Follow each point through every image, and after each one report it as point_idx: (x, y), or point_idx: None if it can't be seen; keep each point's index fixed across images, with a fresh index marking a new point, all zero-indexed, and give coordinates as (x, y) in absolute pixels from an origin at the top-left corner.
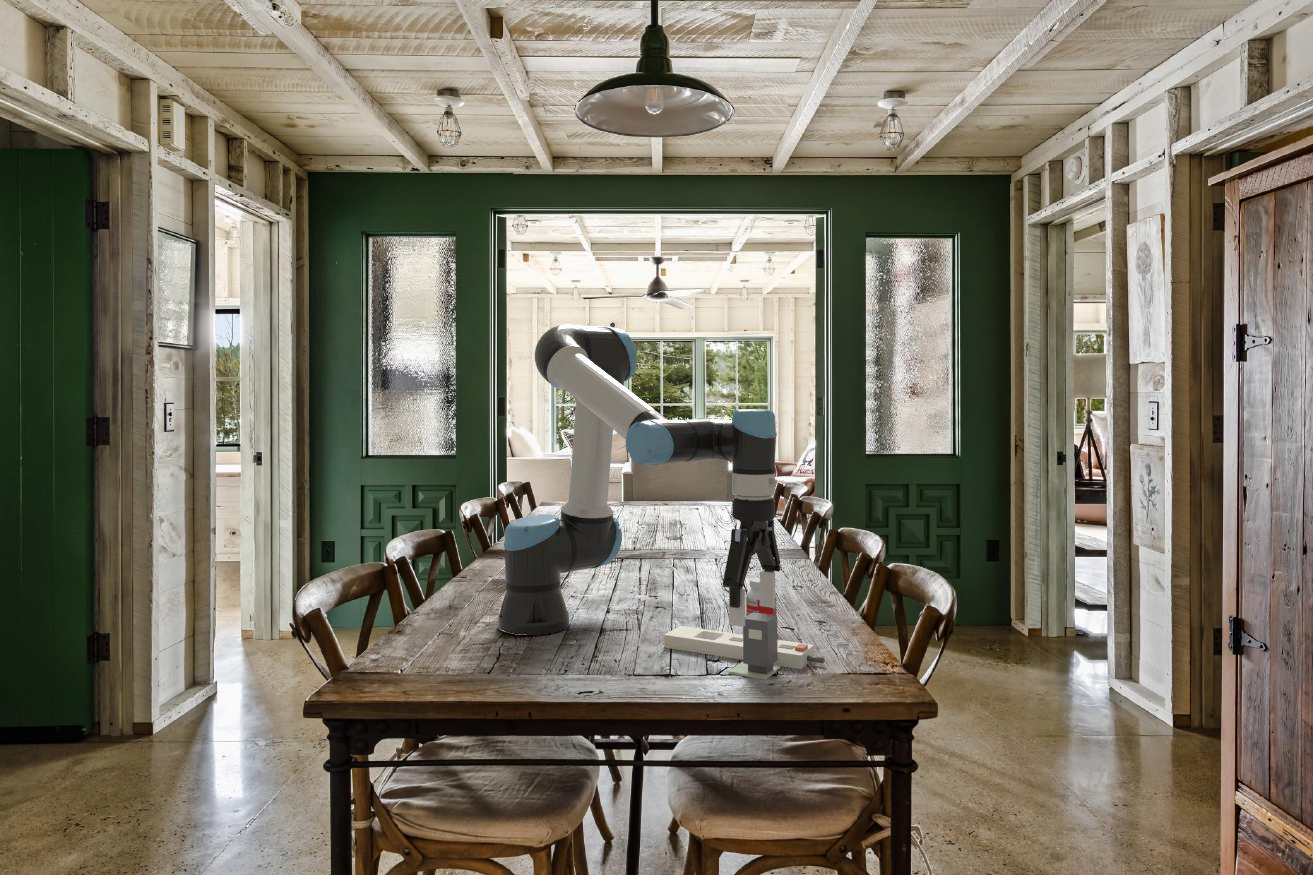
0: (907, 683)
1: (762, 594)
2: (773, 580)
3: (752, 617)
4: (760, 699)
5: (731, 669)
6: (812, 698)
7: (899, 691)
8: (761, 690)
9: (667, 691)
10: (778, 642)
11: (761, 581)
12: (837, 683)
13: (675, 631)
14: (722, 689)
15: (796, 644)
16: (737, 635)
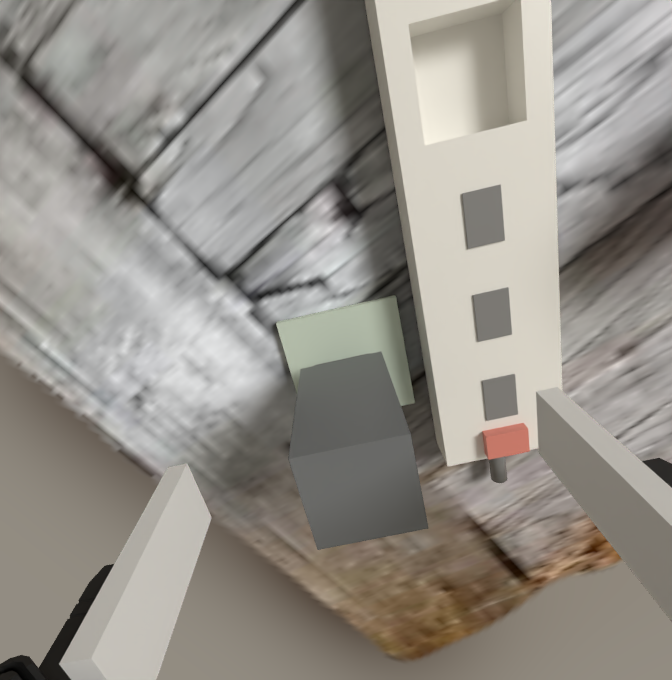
0: (484, 620)
1: (572, 443)
2: (638, 578)
3: (331, 478)
4: None
5: (295, 319)
6: (280, 547)
7: (431, 628)
8: (238, 453)
9: (30, 282)
10: (531, 352)
11: (630, 494)
12: (398, 540)
13: None
14: (168, 383)
15: None
16: (536, 180)
